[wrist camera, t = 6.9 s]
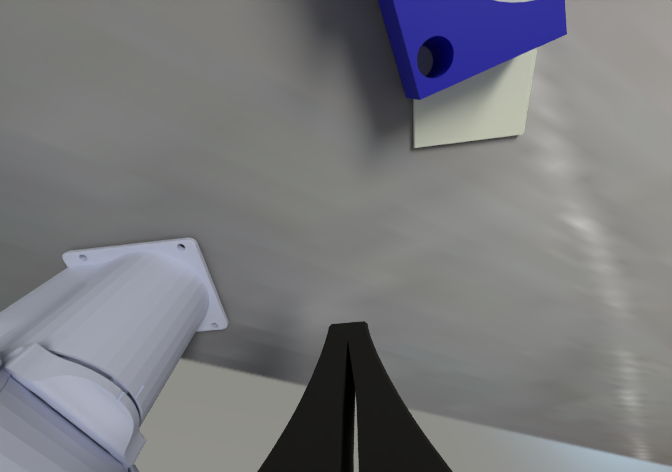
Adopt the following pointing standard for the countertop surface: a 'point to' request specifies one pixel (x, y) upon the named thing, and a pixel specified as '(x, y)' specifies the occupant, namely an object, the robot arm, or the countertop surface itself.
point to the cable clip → (465, 36)
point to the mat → (475, 103)
